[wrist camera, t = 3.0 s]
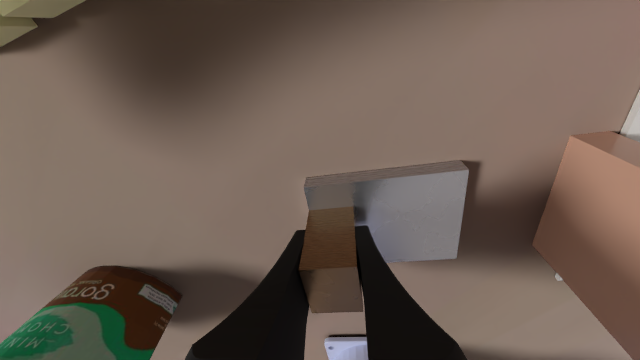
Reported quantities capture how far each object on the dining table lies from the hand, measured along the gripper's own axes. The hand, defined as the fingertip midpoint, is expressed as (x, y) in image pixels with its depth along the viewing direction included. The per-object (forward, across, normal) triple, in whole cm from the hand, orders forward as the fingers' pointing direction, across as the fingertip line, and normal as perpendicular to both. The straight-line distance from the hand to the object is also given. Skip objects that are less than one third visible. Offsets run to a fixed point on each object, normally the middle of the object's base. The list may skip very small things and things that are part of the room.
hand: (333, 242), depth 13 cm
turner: (+2, -3, 0) cm, 4 cm away
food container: (+2, +19, +5) cm, 20 cm away
